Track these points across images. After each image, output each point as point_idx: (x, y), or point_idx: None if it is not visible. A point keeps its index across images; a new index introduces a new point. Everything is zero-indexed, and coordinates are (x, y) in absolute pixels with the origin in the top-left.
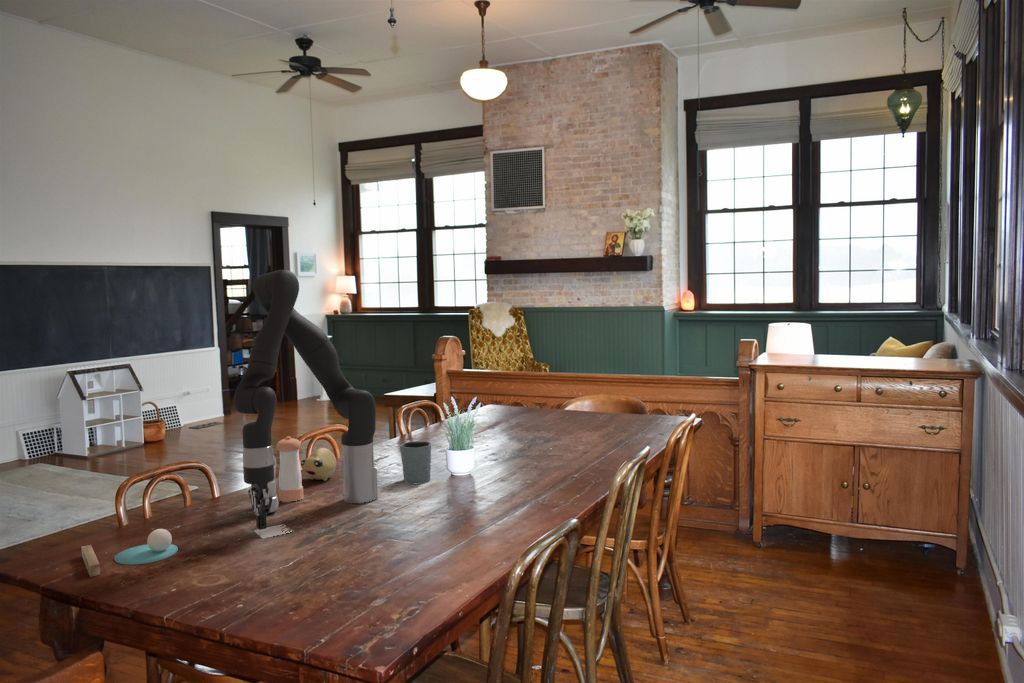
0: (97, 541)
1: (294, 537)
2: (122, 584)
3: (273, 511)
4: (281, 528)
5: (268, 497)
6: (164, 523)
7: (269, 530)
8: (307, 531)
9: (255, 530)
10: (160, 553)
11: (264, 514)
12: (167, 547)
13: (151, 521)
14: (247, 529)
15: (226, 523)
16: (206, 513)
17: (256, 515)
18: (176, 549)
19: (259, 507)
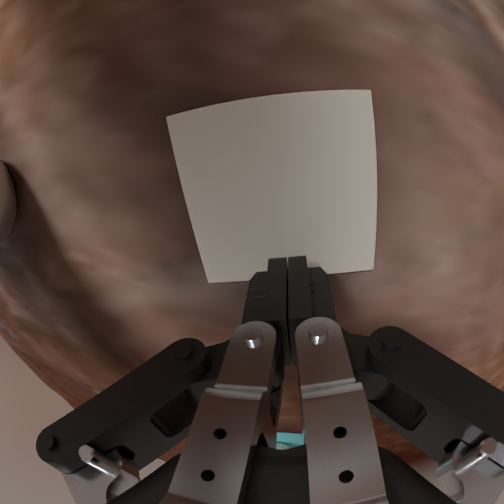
0: (168, 454)
1: (449, 121)
2: (398, 450)
3: (6, 169)
4: (255, 139)
5: (382, 474)
6: (85, 398)
7: (257, 213)
8: (386, 20)
9: (218, 276)
10: (296, 445)
11: (354, 342)
12: (288, 448)
13: (75, 401)
14: (173, 295)
15: (87, 328)
16: (23, 332)
17: (286, 365)
18: (290, 435)
19: (399, 431)
